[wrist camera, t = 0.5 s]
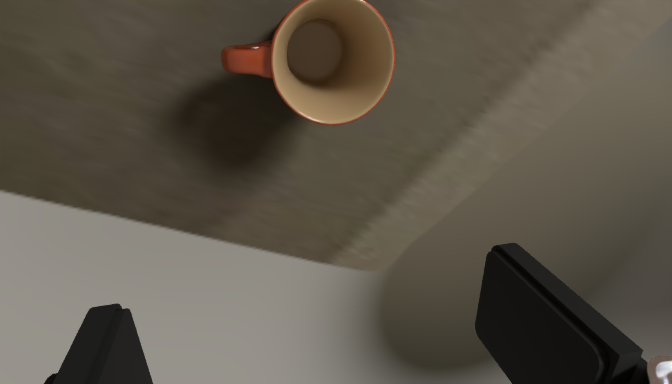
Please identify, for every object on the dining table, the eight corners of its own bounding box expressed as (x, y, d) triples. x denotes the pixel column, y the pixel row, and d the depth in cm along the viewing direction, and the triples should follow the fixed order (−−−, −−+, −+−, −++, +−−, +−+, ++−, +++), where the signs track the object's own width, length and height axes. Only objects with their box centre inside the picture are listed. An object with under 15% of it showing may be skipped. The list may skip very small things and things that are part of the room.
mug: (359, -2, 35) (401, -6, 26) (354, 96, 39) (390, 123, 30) (219, -7, 33) (212, -14, 24) (228, 99, 37) (225, 129, 27)
